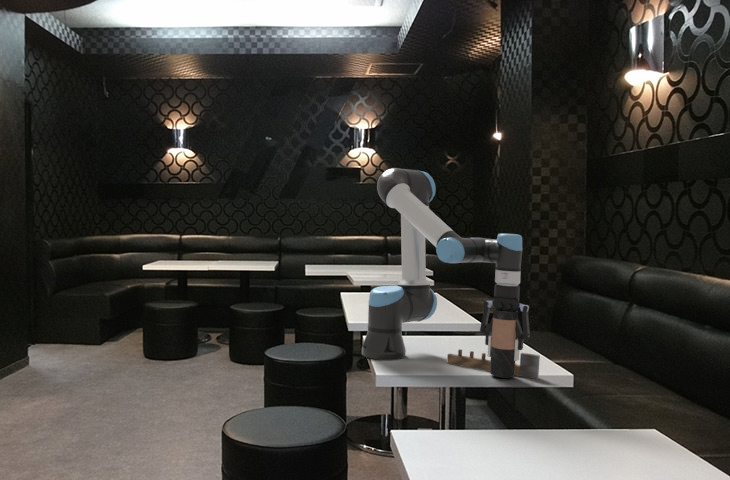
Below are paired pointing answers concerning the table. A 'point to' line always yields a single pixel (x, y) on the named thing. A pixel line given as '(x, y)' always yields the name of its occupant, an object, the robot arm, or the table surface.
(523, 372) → the comb rail
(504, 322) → the travel mug
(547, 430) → the table surface
